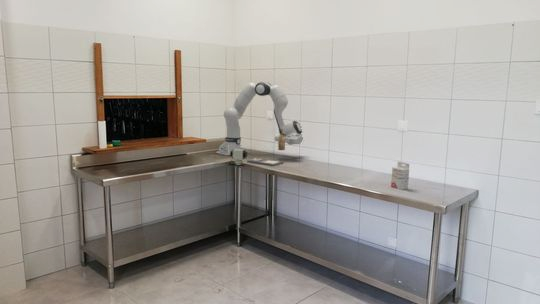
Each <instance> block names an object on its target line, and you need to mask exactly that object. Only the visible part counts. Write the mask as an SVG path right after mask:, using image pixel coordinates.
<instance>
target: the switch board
mask: <svg viewBox="0 0 540 304" xmlns="http://www.w3.org/2000/svg"><path fill="white" fill-rule="evenodd" d="M246 162H247V163H251V164H255V165H256V164H257V165H264V166H268V167H270V166H271V167H275V166H280V165H283V164H284V161H278V160H272V159H266V158H265V159H264V158H256V157H255V158H252V159H247V160H246Z"/></svg>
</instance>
